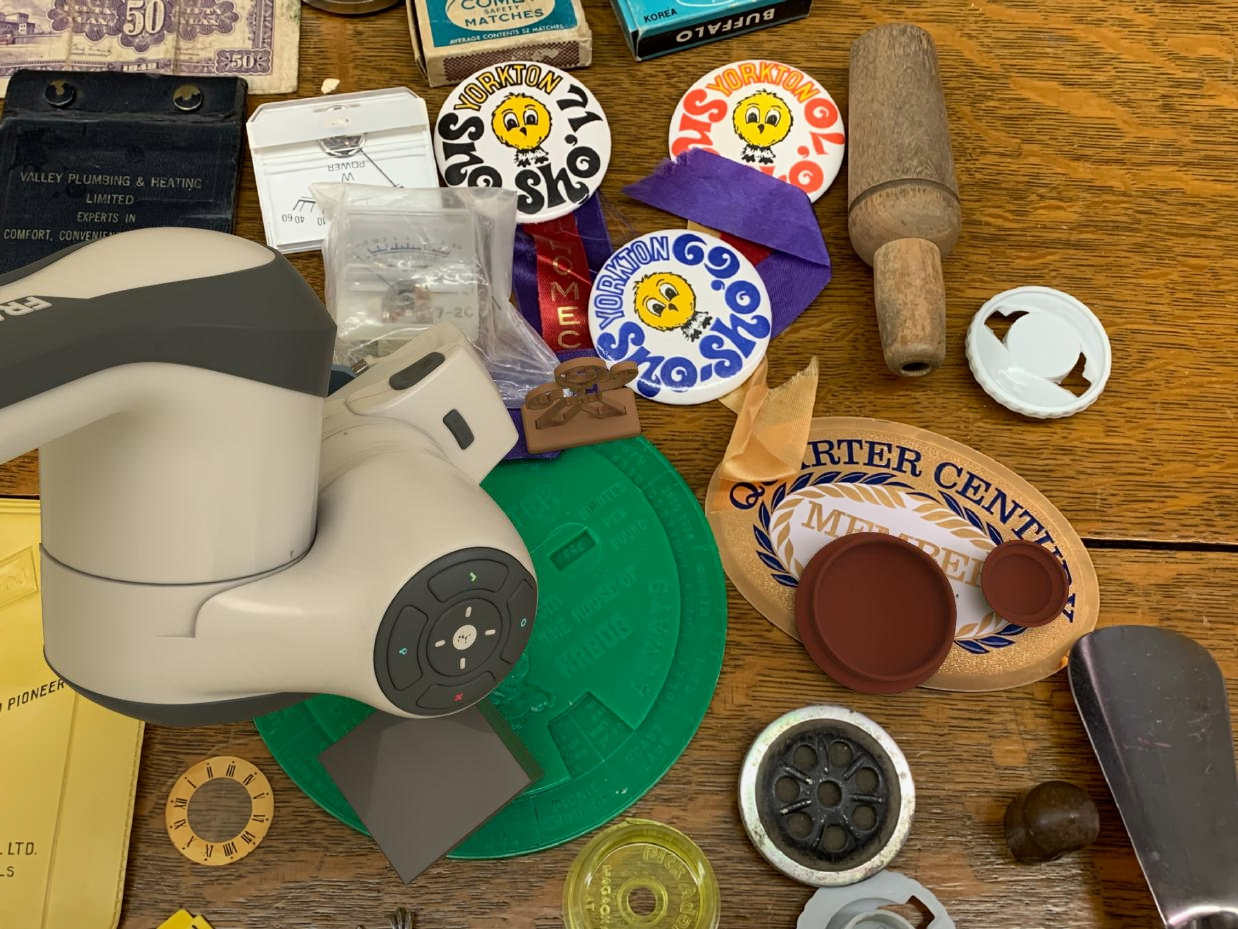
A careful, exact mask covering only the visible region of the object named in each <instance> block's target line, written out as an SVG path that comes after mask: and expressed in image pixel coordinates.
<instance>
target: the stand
mask: <svg viewBox="0 0 1238 929" xmlns="http://www.w3.org/2000/svg"><path fill="white" fill-rule="evenodd" d="M316 758H317V760H318V761H319V763H320V764H321V766H322V767H323V768H324V770H325V771H326V773H327V774H328V776H329V777H330V779H331V780H332V782H333V783H334V785H335V786H336V787H337V789H338V790H339V792H340V793H341V795H342V796H343V797H344V799H345V800H346V802H347V803H348V805H349V807H351V810H352V811H353V812H354V814H355V815H356V817H357V818H358V819H359V821H360V822H361V824H362V825H363V827H364V828H365V829H366V831H367V833H368V834H369V835H370V837H371V839H373V841H374V843H375V845H376V846H377V847H378V848H379V850H380V851H381V853H382V854H383V856H384V857H385V859H386V860H387V861H388V863H389V865H390V866H391V867H392V869H393V870H394V872H395V874H396V875H397V876H398V877H399V879H400V880H401V882H402V884H403V885H404V886H409V885H410V884H411V883H413V882H414V881H415V880H416V879H418V878H419V877H421V876H422V875H424V874H425V873H426V872H427V871H429V870H430V869H432V868H433V866H436V865H437V864H438V863H439V862H441V861H442V860H443V859H444V858H446V857H447V856H448V855H450V854H451V853H452V852H454V851H455V850H456V849H458V848H459V847H460V846H461V845H462V844H464V843H465V842H466V841H467V840H468V839H470V838H471V837H472V836H473V835H474V834H476V833H477V832H478V831H479V830H481V828H483V827H484V826H485V825H486V824H488V823H489V822H490V821H491V820H493V819H494V818H495V817H496V816H497V815H498V814H500V813H501V812H502V811H503V810H505V809H506V808H507V807H509V805H510V804H512V803H513V802H514V801H516V799H518V798H519V797H520V796H522V795H523V794H524V793H525V792H526V791H527V790H529V789H530V788H531V787H533V786H534V785H535V784H536V783H537V782H539V780H541V779H542V778H543V777H545V775H546V771H545V770H544V769H543V768H542V766H541V765H540V764H539V762H538V760H536V758H535V757H534V756H533V754H532V753H531V752H530V750H529V749H528V747H527V746H526V745H525V743H523V741H522V739H521V738H520V737H519V735H518V734H517V733H516V731H515V730H514V729H513V728H512V726H511V725H510V724H509V722H508V721H507V720H506V718H505V717H504V715H503V714H502V713H501V711H500V710H499V709H498V707H497V706H496V705H495V703H494V702H493V701H492V699H491V698H490V697H489V694H488V695H487V696H485V697H484V698H482V699H481V700H480V701H478V702H476V703H475V704H473V705H471V706H470V707H468V708H466V709H463V710H461V711H459V712H456V713H453V714H450V715H445V716H440V717H434V718H424V719H416V718H407V717H401V716H397V715H394V714H391V713H388V712H385V711H382V710H380V709H377V708H376V710H374V712H372V713H371V714H370V715H368V716H367V717H366V718H364V719H363V720H362V721H361V722H359V723H358V724H356V726H354V727H353V728H352V729H350V730H348V732H346V733H345V734H344V735H342V736H341V737H340V738H338V739H337V740H336V741H335V742H333V743H332V744H331V745H330V746H328V747H327V748H326V749H325V750H323V751H322V752H320V753H319V754H318V755H317V756H316Z"/></svg>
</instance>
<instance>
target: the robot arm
mask: <svg viewBox="0 0 1238 929" xmlns="http://www.w3.org/2000/svg"><path fill="white" fill-rule="evenodd" d="M337 333H338V325H337V323H336V322H335V320H334V318H333V317H332V315H331V313H330V312H329V310H328V308H327V307H326V306H325V304H324V303H323V301H322V300H321V299H320V297H319V295H318V294H317V293H316V292H315V290H314V289H313V287H312V286H311V285H310V283H309V282H308V281H307V280H306V278H305V277H304V276H303V275H302V274H301V273H300V271H299V270H298V269H297V268H296V267H295V265H293V264H292V262H291V261H290V260H289V259H288V258H286V256H285V255H284V254H283V253H282V252H281V251H280V250H278V249H276V248H275V247H272V246H271V245H268V244H264V243H262V242H258V241H255V240H251V239H248V238H244V237H241V236H239V235H234V234H231V233H227V232H226V233H225V232H222V231H217V230H213V229H212V230H211V229H204V228H195V227H186V226H185V227H182V226H162V227H161V226H160V227H159V226H157V227H145V228H139V229H133V230H129V231H123V232H120V233H116V234H113V235H107V236H103V237H96V238H93V239H89V240H85V241H81V242H79V243H75V244H72V245H70V246H68V247H65V248H63V249H60V250H58V251H55V252H54V253H52V254H49V255H47V256H44V257H43V258H41V259H38V260H36V261H33V262H31V263H30V264H27V265H24V266H22V267H20V268H16V269H14V270H11V271H8V272H5V273H1V274H0V465H3V464H5V463H8V462H10V461H11V460H14V459H16V458H18V457H20V456H23V455H25V454H27V453H30V452H32V451H34V450H36V449H37V450H38V452H37V454H38V483H39V487H38V488H39V515H40V542H39V544H38V548H39V549H38V551H39V555H40V556H39V557H40V560H39V565H40V569H39V572H40V575H39V576H40V602H41V603H40V604H41V618H42V620H41V621H42V637H43V647H42V653H43V654H42V655H43V658H44V661H45V663H46V664H47V666H48V668H49V670H51V671H52V672H53V674H54V675H56V676H57V677H58V679H60V681H62V683H64V684H65V685H66V686H68V687H69V688H71V689H72V690H73V692H75V693H77V694H79V695H80V696H82V697H83V698H85V699H87V700H89V701H90V702H91V703H94V704H96V705H98V706H100V707H103V708H105V709H107V710H109V711H112V712H114V713H117V714H119V715H122V716H125V717H127V718H130V719H134V720H138V721H141V722H144V723H147V724H151V725H154V726H158V727H159V726H161V727H167V728H198V727H199V728H200V727H211V726H221V725H228V724H234V723H235V724H236V723H239V722H243V721H248V720H253V719H256V718H260V717H264V716H267V715H271V714H274V713H276V712H279V711H283V710H285V709H288V708H290V707H293V706H295V705H297V704H300V703H303V702H305V701H307V700H309V699H312V698H315V697H317V696H319V695H322V694H326V695H327V694H328V695H335V696H340V697H345V698H349V699H352V700H356V701H359V702H360V703H363V704H366V705H367V706H368V705H369V706H370V707H373V708H375V709H376V710H377V709H380V710H382V711H385V712H388V713H391V714H394V715H397V716H401V717H407V718H416V719H424V718H434V717H440V716H445V715H450V714H453V713H456V712H459V711H461V710H463V709H466V708H468V707H470V706H471V705H473V704H475V703H476V702H478V701H480V700H481V699H482V698H484V697H485V696H487V695H488V696H489V694H491V693H492V692H493V691H494V690H495V689H497V687H498V686H500V684H501V683H503V681H504V680H505V679H507V676H508V675H509V674H510V673H511V671H512V670H513V669H514V667H515V666H516V665H517V663H518V662H519V660H520V658H521V657H522V655H523V653H524V652H525V650H526V648H527V645H528V643H529V641H530V639H531V635H532V632H533V629H534V625H535V621H536V616H537V610H538V601H539V585H538V584H539V583H538V578H537V574H536V570H535V566H534V564H533V561H532V558H531V555H530V553H529V550H528V547H527V546H526V544H525V542H524V540H523V538H522V536H521V535H520V533H519V532H518V530H517V529H516V527H515V526H514V524H513V522H512V521H511V520H510V518H509V517H508V516H507V515H506V513H505V512H504V510H503V509H502V508H501V507H500V506H499V505H498V504H497V502H496V501H495V500H494V499H493V498H492V497H491V495H490V494H488V492H486V490H485V489H484V488H483V487H481V485H480V484H481V483H482V482H483V480H485V478H486V477H487V476H488V475H489V474H490V473H491V472H492V470H493V469H494V468H495V467H496V466H497V465H498V464H499V463H500V462H501V461H502V459H504V458H505V456H506V455H507V454H508V453H509V452H511V450H512V449H513V448H514V447H515V446H516V444H517V442H518V440H519V437H520V436H519V433H518V430H517V428H516V425H515V423H514V421H513V419H512V416H511V413H509V410H508V408H507V406H506V405H505V403H504V400H503V395H502V392H501V391H500V389H499V387H498V386H497V384H496V382H495V380H494V378H493V377H492V375H491V374H490V372H489V370H488V369H487V367H486V365H485V364H484V361H483V360H482V358H481V357H480V355H479V354H478V352H477V351H476V349H475V348H474V346H473V345H472V343H471V341H470V340H469V339H468V337H467V335H466V333H465V332H464V331H463V329H462V328H461V327H460V326H459V325H458V324H457V323H455V322H453V321H451V320H446V321H443V322H439V323H436V324H433V325H432V326H430V327H428V328H427V329H425V330H424V331H422V332H421V333H419V334H418V335H416V336H415V337H413V339H412V338H411V340H410V341H408V342H407V343H405V344H403V345H402V346H401V347H399V348H398V349H396V350H395V351H393V352H392V353H390V354H389V355H385V356H381V357H377V358H374V356H372V355H371V354H367V355H366V356H365V357H363V358H361V359H360V360H359V361H357V362H356V363H354V364H353V365H352V366H349V367H350V368H351V370H352V371H353V373H354V374H355V375H356V376H357V378H355V379H354V380H352V381H351V382H349V383H348V384H346V385H345V386H343V387H342V388H340V389H339V390H338V391H336V392H335V393H333V394H332V395H330V396H329V397H327V396H328V388H329V381H330V374H331V368H332V364H333V360H334V359H333V358H334V354H335V347H336V340H337ZM326 397H327V398H326ZM324 398H326V399H324ZM323 399H324V400H323Z"/></svg>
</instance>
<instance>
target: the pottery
mask: <svg viewBox="0 0 1238 929" xmlns="http://www.w3.org/2000/svg"><path fill="white" fill-rule="evenodd" d="M1066 571H1067V570H1066V569H1065V567H1064V565H1063V563H1062V561H1060V559H1059V558H1058V557H1057V556H1056V554H1055V553H1053V551H1051V550H1050V549H1049V548H1048V547H1046V546H1044V545H1042V544H1040V543H1038V542H1036V541H1033V540H1029V539H1010V540H1006V541H1004V542H1002V543H1000V544H998V545H996V546H995V547H994V548H993V549H992V550H991V551H990V552H989V553H988V554H987V556H986V557H985V559H984V561H983V563H982V567H981V571H980V583H981V584H980V585H981V590H982V594H983V596H984V598H985V601H986V602H987V604H988V606H989V607H990V608H991V609H992V610H993V612H995V614H997V616H999V617H1000V618H1002V619H1003V620H1004V621H1006V622H1007V623H1010V624H1012V625H1014V626H1017V627H1022V628H1027V629H1028V628H1029V629H1030V628H1032V629H1033V628H1040V627H1043V626H1046V625H1048V624H1050V623H1052V622H1054V621H1055V620H1057V619H1058V617H1059V616H1061V615H1062V612H1063V611H1064V610H1065V608H1066V606H1067V603H1068V601H1069V596H1070V582H1069V577H1068V574H1067V572H1066ZM957 618H958V609H957V601H956V596H955V593H954V589H953V587H952V585H951V582H950V580H949V578H948V577H947V574H946V573H945V571H944V570H943V568H942V567H941V566H940V565H939V564H938V562H937V561H936V560H935V559H934V558H933V556H931V555H930V554H929V553H927V552H926V551H925V550H923V549H922V548H920V547H919V546H917V545H915V544H914V543H912V542H909V541H907V540H906V539H903V538H902V537H898V536H896V535H892V534H890V533H884V532H880V531H879V532H877V531H861V532H860V531H859V532H854V533H849V534H845V535H842V536H840V537H837V538H835V539H833V540H832V541H830V542H828V543H827V544H825V545H824V546H822V547H821V548H820V549H818V550H817V552H815V554H814V555H812V557H811V558H809V561H808V562H807V563H806V565H805V567H804V568H803V570H802V572H801V574H800V577H799V579H798V582H797V585H796V589H795V595H794V620H795V623H796V624H795V625H796V628H797V632H798V635H799V638H800V640H801V643H802V645H803V646H804V648H805V650H806V652H807V653H808V655H809V657H810V658H811V659H812V661H813V662H814V663H815V665H817V667H818V668H819V669H820V670H821V671H823V673H825V674H826V675H827V676H828V677H830V678H831V679H832V680H834V681H835V682H837V683H838V684H840V685H842V686H844V687H846V688H849V689H850V690H853V691H856V692H859V693H863V694H868V695H877V696H886V695H895V694H901V693H904V692H908V691H910V690H912V689H914V688H917V687H918V686H920V685H922V684H924V683H925V682H926V681H928V680H929V679H930V678H932V677H933V676H934V675H935V674H936V673H937V672H938V671H939V669H940V668H941V667H942V665H944V663H945V661H946V659H947V658H948V656H949V654H950V651H951V649H952V647H953V644H954V640H955V636H956V630H957Z"/></svg>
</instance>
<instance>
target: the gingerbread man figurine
mask: <svg viewBox="0 0 1238 929" xmlns="http://www.w3.org/2000/svg"><path fill="white" fill-rule="evenodd" d="M596 370H597V371H596ZM639 373H640V372H639V366H638V362H636V361H633V360H623V361H619V362H616V363H614V364H613V365H611V366H610V368H609V370H608V367H607V362H606V360H604V359H603V358H601V357H597V356H581V357H576V358H575V357H574V358H572V359H569V360H566V361H563V362H562V363H560V364H558V365H557V366H556V367H555V368H554V370H553V376H554V381H549V382H545V383H543V384H540V385H538V386H536V387H534V388H532V389H531V390H529V391H528V392H527V393H526V394H525V396H524V404H522V405H521V406H520V414H521V420H522V425H523V432H524V437H525V444H526V449H527V450H526V451H527V452H528V454H530V455H537V454H543V453H548V452H555V451H561V450H567V449H572V448H579V447H584V446H591V445H596V444H597V445H598V444H603V443H609V442H615V441H620V440H626V439H632V438H639V437H640V436H641V433H642V427H641V422H640V417H639V413H638V412H639V411H638V408H637V402H636V398H635V392H634V389H633V388H631V387H624V388H623V386H626V385H628V384H629V383H631V382H632V381H634V380H636V378H637V377H638V376H639ZM563 375H564V376H563ZM594 385H597V386H596V387H597V389H596V391H593V392H592V393H591V392H588V393H587V392H586V390H593V389H594ZM621 387H622V388H621ZM567 389H568V390H569V392H570V393H573V392H575V395H569V396H565V394H564V390H567Z"/></svg>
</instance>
